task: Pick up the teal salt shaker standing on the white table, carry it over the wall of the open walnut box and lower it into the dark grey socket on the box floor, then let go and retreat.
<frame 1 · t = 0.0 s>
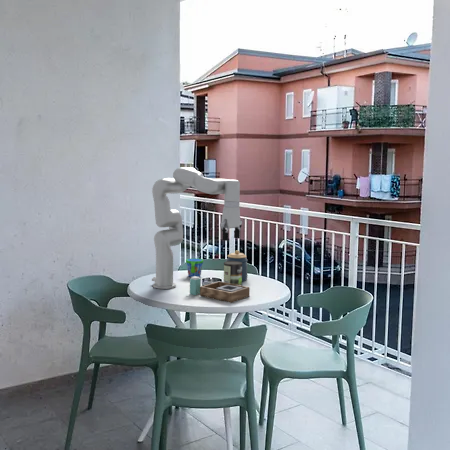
hand: (231, 239, 254), 31 cm above the table, fingers open, 9 cm apart
teal salt shaker: (195, 293, 270), on the table
coffee can: (232, 287, 285), on the table
sippy cup: (194, 276, 312), on the table
bin: (224, 296, 266), on the table
canister: (236, 279, 306), on the table
socket: (229, 291, 264), in the bin, point 3 cm above the table
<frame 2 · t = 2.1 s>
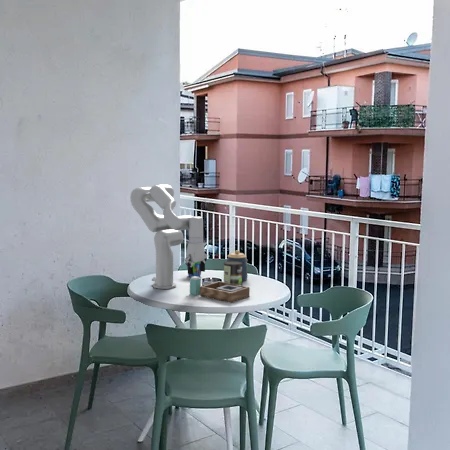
hand: (196, 272, 268), 11 cm above the table, fingers open, 9 cm apart
nothing on the table moved.
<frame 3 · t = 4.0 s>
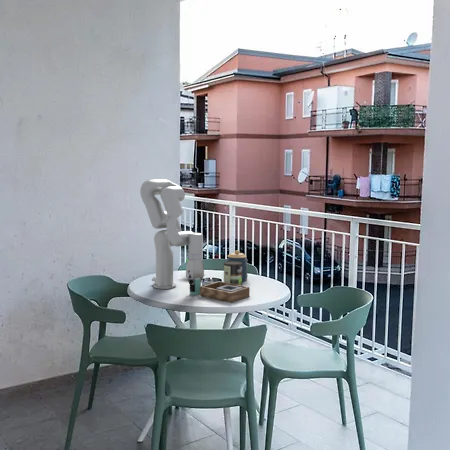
hand: (195, 290, 270), 2 cm above the table, fingers closed on teal salt shaker, 4 cm apart
teal salt shaker: (195, 293, 270), on the table, touching gripper
everything else where it was.
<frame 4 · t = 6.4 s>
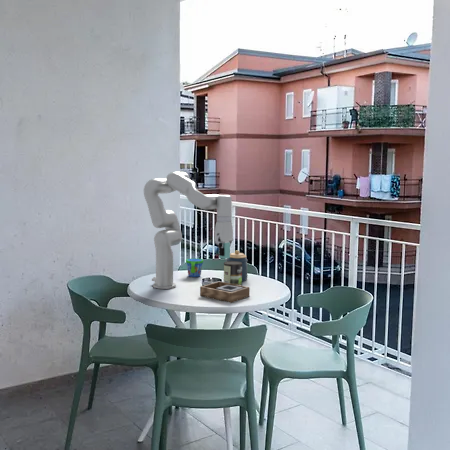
hand: (224, 254, 263), 22 cm above the table, fingers closed on teal salt shaker, 4 cm apart
teal salt shaker: (224, 257, 263), point 20 cm above the table, touching gripper
everything else where it was.
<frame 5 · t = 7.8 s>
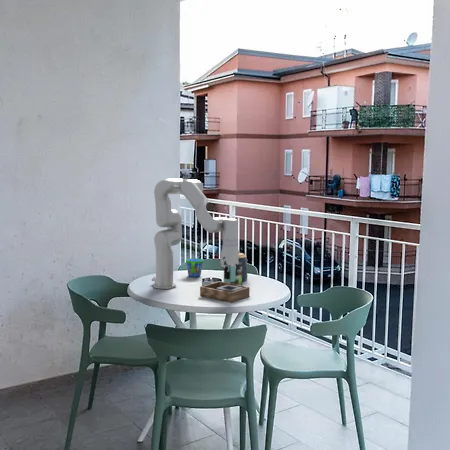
hand: (229, 277, 263), 10 cm above the table, fingers closed on teal salt shaker, 4 cm apart
teal salt shaker: (229, 281, 263), point 9 cm above the table, touching gripper
everything else where it was.
when the fingers open (6 cm above the table, at t = 9.1 s): teal salt shaker drops 3 cm, resting on bin.
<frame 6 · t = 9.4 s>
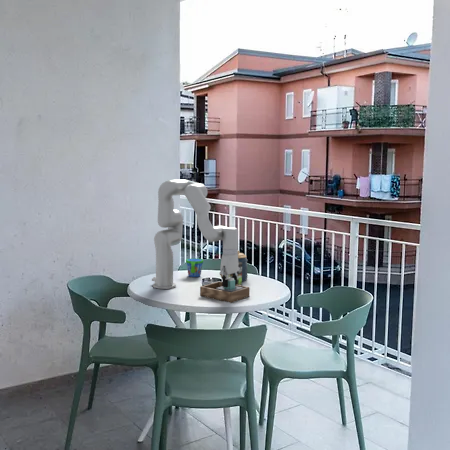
hand: (229, 285, 264), 6 cm above the table, fingers open, 7 cm apart
teal salt shaker: (229, 295, 264), point 1 cm above the table, touching bin
everything else where it was.
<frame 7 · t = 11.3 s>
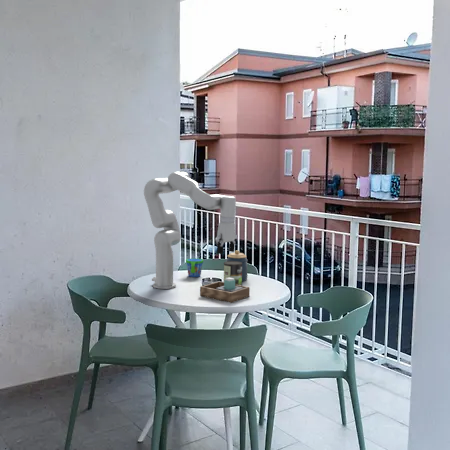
hand: (225, 252, 266), 23 cm above the table, fingers open, 9 cm apart
nothing on the table moved.
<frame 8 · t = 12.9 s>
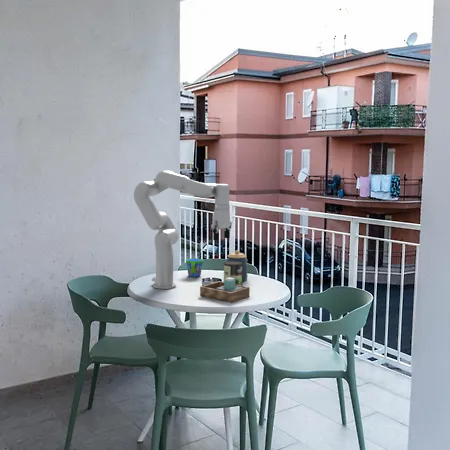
hand: (221, 239, 273), 28 cm above the table, fingers open, 9 cm apart
nothing on the table moved.
at the end: teal salt shaker 0.0 cm from the target spot on the bin, point 1.0 cm above the bin's base; teal salt shaker tilted 0°; the gripper is holding nothing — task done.
